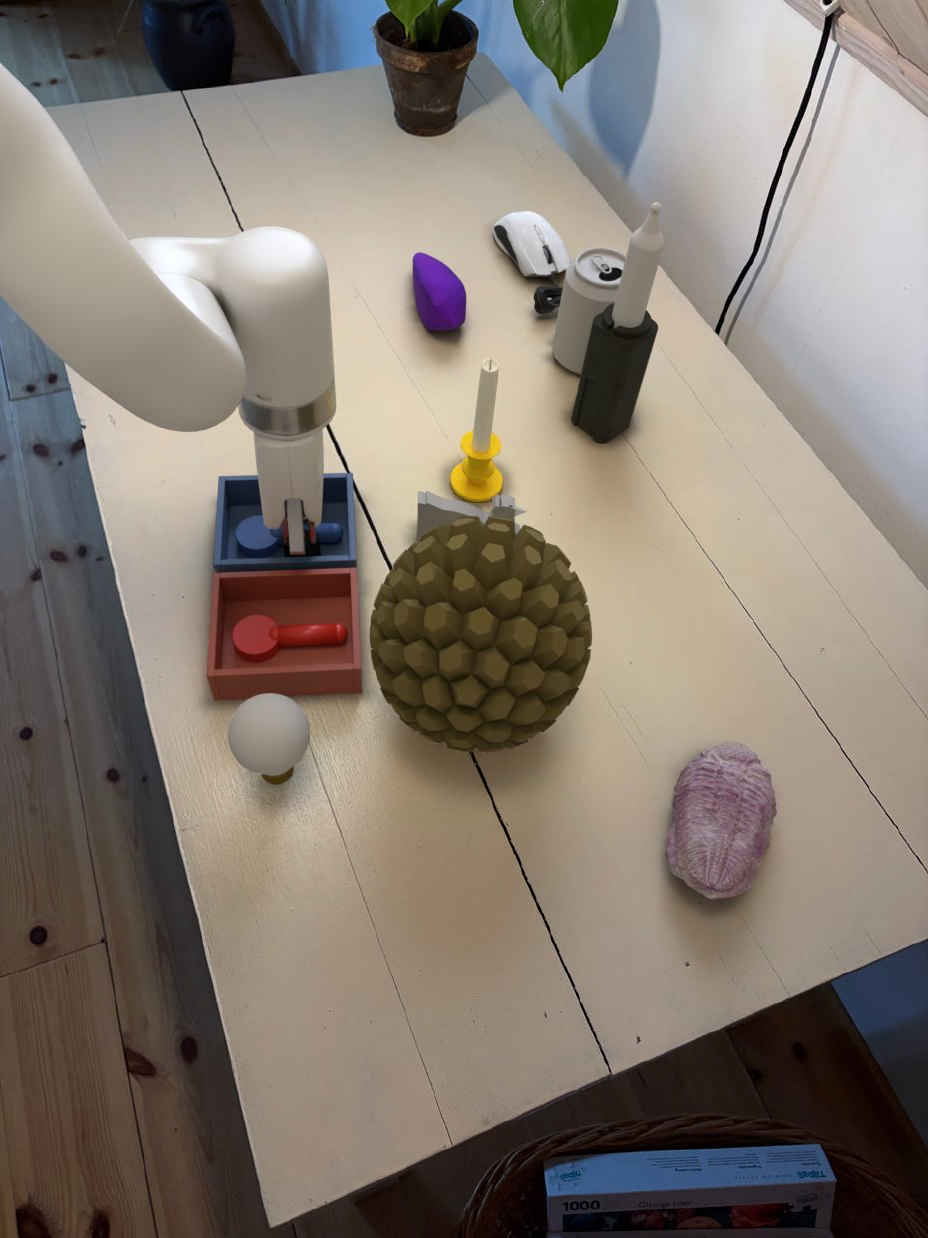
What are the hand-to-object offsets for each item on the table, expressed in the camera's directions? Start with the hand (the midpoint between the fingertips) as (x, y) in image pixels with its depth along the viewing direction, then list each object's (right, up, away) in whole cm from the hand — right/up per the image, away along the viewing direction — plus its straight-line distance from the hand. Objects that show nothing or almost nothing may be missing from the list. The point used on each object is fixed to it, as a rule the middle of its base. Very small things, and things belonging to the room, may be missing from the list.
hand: (303, 539), depth 87 cm
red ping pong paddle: (0, -9, -6) cm, 11 cm away
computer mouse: (+24, +35, +26) cm, 50 cm away
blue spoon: (-1, 0, 0) cm, 1 cm away
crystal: (+11, +28, +21) cm, 37 cm away
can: (+28, +22, +18) cm, 40 cm away
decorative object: (+15, -14, -7) cm, 22 cm away
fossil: (+34, -24, -12) cm, 44 cm away
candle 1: (+16, +6, +6) cm, 18 cm away
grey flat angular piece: (+15, 0, +2) cm, 15 cm away
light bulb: (0, -20, -12) cm, 23 cm away
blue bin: (-1, 0, 0) cm, 2 cm away
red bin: (0, -10, -6) cm, 11 cm away
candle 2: (+29, +13, +12) cm, 34 cm away
